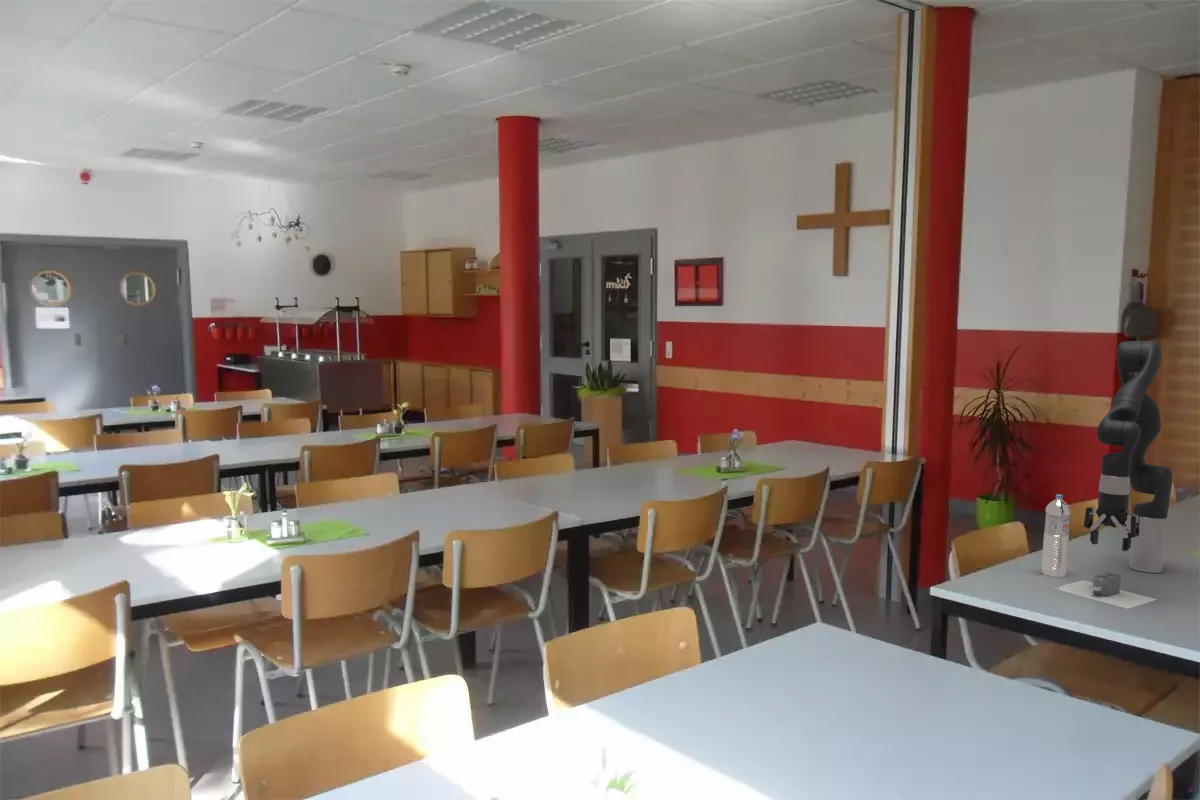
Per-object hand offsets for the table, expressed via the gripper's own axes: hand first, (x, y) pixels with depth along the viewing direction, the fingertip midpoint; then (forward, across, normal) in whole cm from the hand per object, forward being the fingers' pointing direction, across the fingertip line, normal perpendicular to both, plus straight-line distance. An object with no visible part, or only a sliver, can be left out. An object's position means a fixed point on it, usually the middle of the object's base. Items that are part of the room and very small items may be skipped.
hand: (1109, 547), depth 260 cm
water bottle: (+14, +19, -6) cm, 24 cm away
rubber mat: (+14, 0, +1) cm, 14 cm away
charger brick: (+13, 0, 0) cm, 13 cm away
